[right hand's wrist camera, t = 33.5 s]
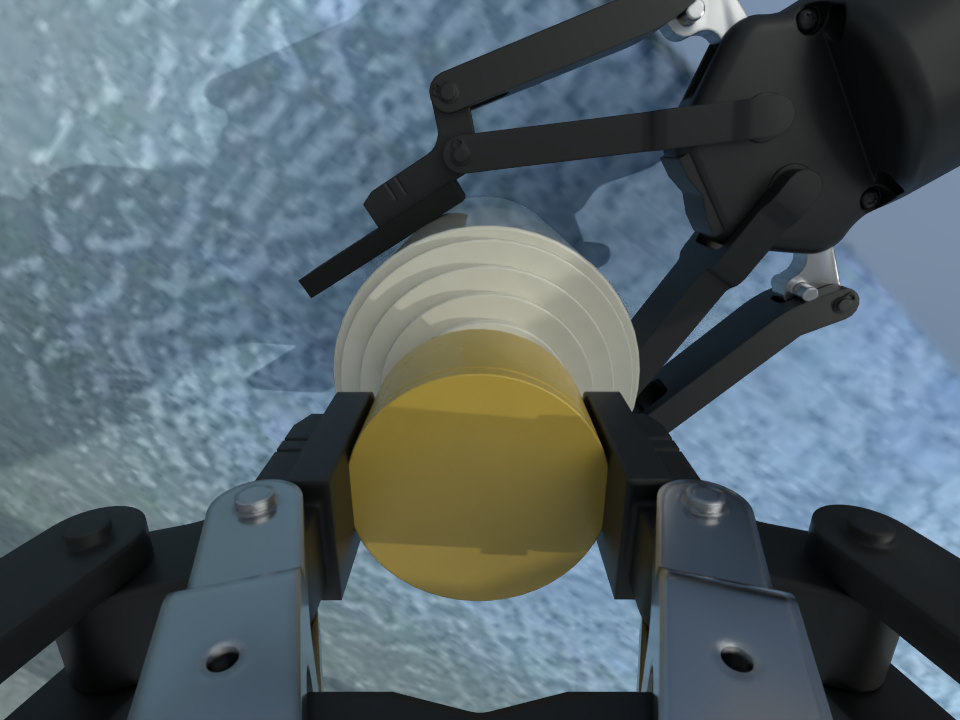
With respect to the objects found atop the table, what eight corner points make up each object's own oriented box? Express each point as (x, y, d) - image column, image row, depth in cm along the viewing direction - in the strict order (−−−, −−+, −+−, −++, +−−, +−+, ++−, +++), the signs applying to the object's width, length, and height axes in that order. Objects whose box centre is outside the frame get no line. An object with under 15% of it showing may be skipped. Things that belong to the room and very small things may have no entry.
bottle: (600, 257, 27) (803, 414, 10) (507, 387, 29) (542, 696, 12) (457, 160, 26) (409, 151, 8) (371, 306, 28) (198, 528, 11)
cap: (355, 338, 11) (321, 386, 9) (582, 318, 11) (610, 361, 9) (389, 527, 13) (368, 610, 10) (588, 510, 12) (613, 592, 10)
